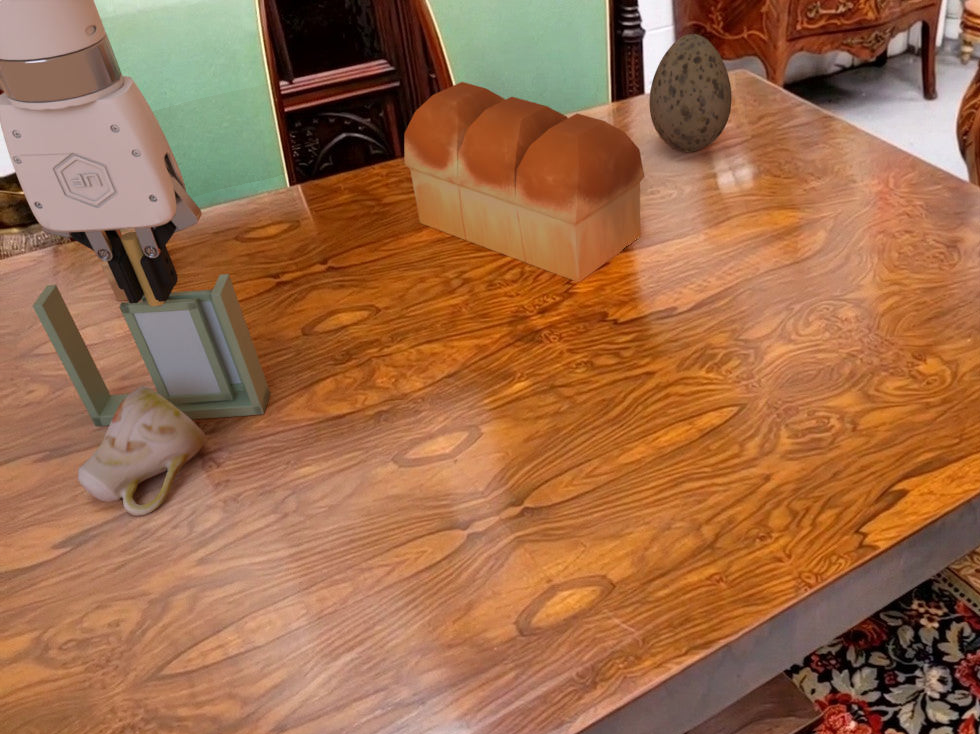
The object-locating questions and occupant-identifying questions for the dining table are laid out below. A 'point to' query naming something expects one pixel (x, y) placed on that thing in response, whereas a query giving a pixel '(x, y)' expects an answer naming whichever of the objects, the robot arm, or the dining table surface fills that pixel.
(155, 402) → the mug
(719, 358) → the dining table surface
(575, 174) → the bread
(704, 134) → the decorative egg
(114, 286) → the block
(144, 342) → the window pane
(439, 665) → the dining table surface
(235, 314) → the window frame
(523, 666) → the dining table surface
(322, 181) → the dining table surface
